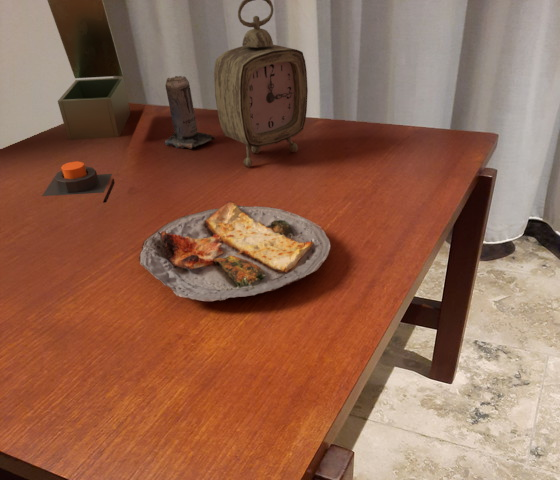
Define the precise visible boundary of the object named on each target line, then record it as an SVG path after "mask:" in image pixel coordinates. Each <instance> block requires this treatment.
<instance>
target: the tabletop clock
mask: <svg viewBox="0 0 560 480" xmlns="http://www.w3.org/2000/svg"><path fill="white" fill-rule="evenodd" d="M253 1H255V0H242V1H241V3H240V5H239V6H238V10H237V18H238V20H239V22H240V24H241V25H243V26H245V27H247V28H252V29H249V30H247V31H246V33H244V36H243V39H242V45H241V46H238V47H234V48H231V49H229V50H227V51H225V52H223V53H222V54H221V55H219V56H218V57H217V58H216V59H215V63H214V69H213V80H214V96H215V103H216V110H217V116H218V121H219V124H220V128H221V131H222V132H223V134H224V136H225V137H228V138H230V139H232V140H234V141H236V142H239V143H242V144H244V145H245V149H246V151H245V152H246V157H245V158H244V159H243V165H244V167H246V168H250V167H252V166H253V160H252V158H251V152H252V153H253V154H254V155H257V154H259V153H260V151H261V147H265V146H271V145H275V144H279V143H281V142H283V141H286V142H287V143H288V144H289V150H290V152H292V153H296V152H298V150H299V146H298V144H297V143H296V142H293V141H292V139H291V138H293V137H295V136H297V135H298V134H299V133H300V132H302V131H303V130H304V127H305V123H306V119H307V111H308V110H307V109H308V95H309V92H308V91H309V90H308V89H309V88H308V72H307V65H306V59H305V56H304V52H303V51H301V50H298V49H295V48H291V47H286V46H282V45H277V44H274V42H273V39H272V35H271V34H270V32H268V30H267V29H265V28H261V26H264V25H266V24H267V23H268V22H270V21H271V19H272V17H273V15H274V5H273V3H272V0H263V1H264V2H266V3H267V4H268V5H269V7H270V11H269V12H270V13H269V14H268V16H267V17H266V18H264V19H261V20H260V17H259V16H258V15H255V16H253V18H252V20H253V21H251V22H249V21H245V20H244V19H243V18H242V15H241V13H242V11H243V9H244V7H245V5H247V4H248V3H250V2H251V3H252V2H253Z"/></svg>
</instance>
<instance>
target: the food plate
mask: <svg viewBox="0 0 560 480" xmlns="http://www.w3.org/2000/svg"><path fill="white" fill-rule="evenodd" d="M330 250H331V241H330V238H329V237H328V236H327V233H326V232H325V229H324V228H322V227H321V226H320V225H319V224H317V223H315V222H314V221H312V220H310V219H308V218H306V217H303V216H301V215H298V214H297V213H294V212H290V211H289V210H284V209H282V208H278V207H277V208H275V207H268V206H259V205H257V206H248V205H245V206H244V205H237V204H236V203H235V200H227V201H226V203H225V204H223V205H222V206H221V207H219V208H211V209H207V210H204V211H199V212H196V213H192V214H188V215H183V216H181V217H179V218H177V219H174V220H171V221H169V222H167V223H165V224H164V225H163V226H161V227H160V228H158V230H156V231H154V232H153V233H152V234H151V235H150V236H148V237H147V238H146V239H145V240H144V241H143V243H142V246H141V250H140V252H139V257H138V261H139V265H141V267H143V268H144V269H145V270H146V271H148V272H149V274H151V275H152V276H153V277H154V278H155V279H156V280H157V281H160V282H161V283H162V284H163V285H164V287H165V286H166V287H168V288H170V289H171V291H172V292H173V293H174V295H175V296H176V297H180V298H184V299H185V298H186V299H189V300H193V301H195V300H196V301H202V302H215V301H225V300H227V299H229V298H239V297H240V298H241V297H249V296H256V295H258V294H264V293H266V292H273V291H275V290H278V289H280V288H281V287H284V286H286V285H290V284H292V283H294V282H299V280H301V279H302V278H305V277H306V276H308V275H310V274H312V273H314V272H316V271H318V270H319V268H320V267H321V266H322V265H323V264H324V262H325V260H327V258H328V256H329V254H330Z"/></svg>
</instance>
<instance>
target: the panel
mask: <svg viewBox="0 0 560 480" xmlns="http://www.w3.org/2000/svg"><path fill="white" fill-rule="evenodd" d="M85 169H86V173H87V175H85V176H83V177H80V178H76V179H66V178H64V175H63V171H62V170H60V171H58V172H56V173H55V175H54V176H53V178H52V180H51V181H50V182H49V184H48V186H47V188H46V189H45V190H44V192H43V193H42V195H41V196H42V197H51V196H53V197H54V196H69V195H71V196H72V195H85V194H87V195H88V194H104V193H105V191H106V189H107V186H108V184H109V182H110V180H111V177H112V175H113V173H102V174H101V173H100V174H98V173H97V170H96V169H94V167H91V166H86V165H85ZM114 186H115V179H114V177H113V178H112V180H111V183H110V185H109V187H108V190H107V192H106V194H105V196H104V199H103V200H102V203H103V204H105V203H107V202H108V200H109V198H110V196H111V193H112V190H113V188H114Z"/></svg>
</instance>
